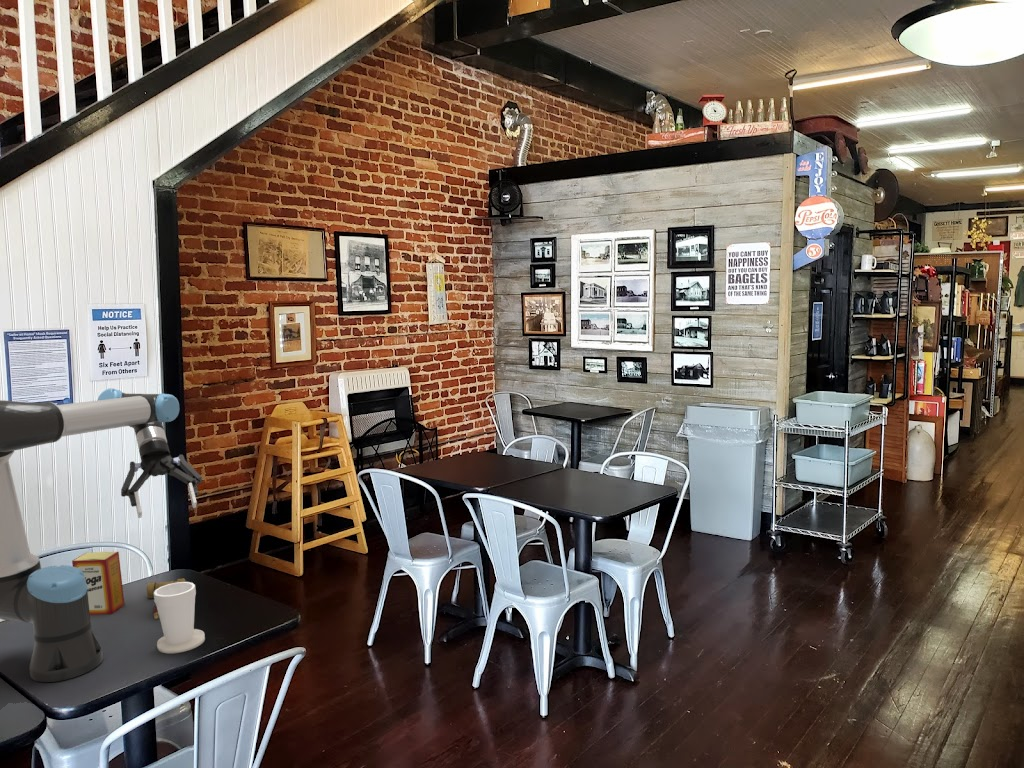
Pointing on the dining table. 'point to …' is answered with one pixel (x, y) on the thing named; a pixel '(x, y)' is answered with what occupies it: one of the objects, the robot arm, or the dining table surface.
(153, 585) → the gavel
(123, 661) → the dining table surface
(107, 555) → the baking soda box
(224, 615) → the dining table surface
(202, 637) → the plate
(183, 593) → the foam cup
